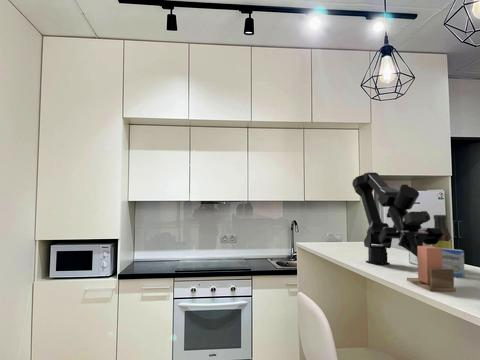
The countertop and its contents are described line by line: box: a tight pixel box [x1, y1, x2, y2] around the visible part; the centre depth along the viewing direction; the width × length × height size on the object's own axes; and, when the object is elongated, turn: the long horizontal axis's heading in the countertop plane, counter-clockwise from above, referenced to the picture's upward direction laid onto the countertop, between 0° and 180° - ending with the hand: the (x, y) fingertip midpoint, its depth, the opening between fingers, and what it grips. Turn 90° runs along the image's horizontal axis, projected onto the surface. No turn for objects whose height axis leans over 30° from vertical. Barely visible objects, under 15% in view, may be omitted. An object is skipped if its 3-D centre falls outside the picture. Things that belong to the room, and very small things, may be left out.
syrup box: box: [408, 226, 432, 266], centre depth 122 cm, size 6×6×14 cm
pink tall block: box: [417, 245, 442, 284], centre depth 90 cm, size 4×4×10 cm
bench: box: [406, 269, 457, 293], centre depth 90 cm, size 12×7×6 cm, turn 1°
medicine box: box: [442, 248, 466, 278], centre depth 104 cm, size 8×4×9 cm, turn 47°
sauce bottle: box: [431, 214, 453, 249], centre depth 113 cm, size 6×6×20 cm
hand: (421, 257), depth 93 cm, fingers closed
